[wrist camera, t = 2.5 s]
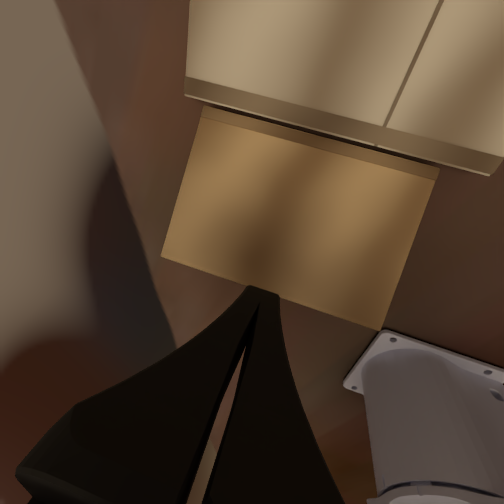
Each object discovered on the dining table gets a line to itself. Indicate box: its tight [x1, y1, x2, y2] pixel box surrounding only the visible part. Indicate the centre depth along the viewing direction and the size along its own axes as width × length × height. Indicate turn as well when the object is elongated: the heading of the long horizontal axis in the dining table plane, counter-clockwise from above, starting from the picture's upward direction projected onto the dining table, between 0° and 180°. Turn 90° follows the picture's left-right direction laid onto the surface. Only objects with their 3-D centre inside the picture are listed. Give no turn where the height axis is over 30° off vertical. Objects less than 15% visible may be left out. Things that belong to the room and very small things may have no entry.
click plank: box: [161, 105, 440, 331], centre depth 14 cm, size 13×9×1 cm
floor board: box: [184, 0, 504, 176], centre depth 11 cm, size 16×8×2 cm, turn 78°
